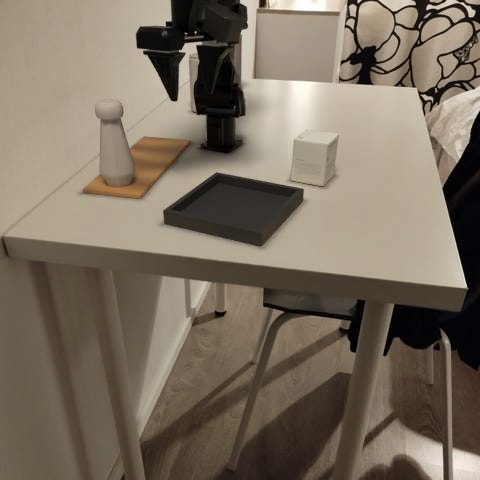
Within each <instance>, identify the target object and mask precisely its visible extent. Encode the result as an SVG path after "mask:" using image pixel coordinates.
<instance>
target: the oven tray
mask: <svg viewBox="0 0 480 480" xmlns="http://www.w3.org/2000/svg"><path fill="white" fill-rule="evenodd" d="M304 193H305V188H302V187H297V186H292V185H286V184H281V183H275V182H271V181H266V180H260V179H256V178H249V177H245V176H244V177H243V176H238V175H234V174H229V173H228V174H227V173H223V172H217V171H216V172H215V173H213V174H212V175H210V176H209V177H208V178H206V179H205V180H203V181H202V182H201V183H199V184H198V185H197V186H195V187H194V188H192V189H191V190H190V191H188V192H187V193H185V194H184V195H183V196H181V197H180V198H178V199H177V200H176V201H174V202H173V203H172V204H170V205H168V206H167V207H166V208H165V209H163V210H162V213H163V215H162V216H163V224H164V225H168V226H171V227H172V226H173V227H177V228H180V229H185V230H190V231H193V232H199V233H203V234H207V235H211V236H215V237H219V238H223V239H228V240H232V241H237V242H241V243H246V244H248V245H253V246H258V247H262V246H263V245H264V244H265V243H266V242H267V241H268V240H269V239H270V238H271V236H273V235H274V234H275V232H276V231H277V230H278V229H279V228H280V227H281V226H282V224H283V223H284V222H286V220H287V219H288V218H289V217H290V216H291V215H292V214H293V213H294V212H295V210H297V208H298V207H299V206H300V205H301V204H302V203H303V202H304V196H305V195H304Z"/></svg>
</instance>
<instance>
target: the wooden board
mask: <svg viewBox="0 0 480 480" xmlns="http://www.w3.org/2000/svg"><path fill="white" fill-rule="evenodd" d="M190 144H191V139H183V138H171V137H170V138H169V137H159V136H145V135H144V136H143V137H141V138H140V139H139V140H137V142H136V143H134V144H133V145H132V146H131V147H129V148H130V152H131V155H132V158H133V162H134V165H135V172H134V175H133V177H132V181H131V183H130V184H129V185H127V186H123V187H111V186H109V185H108V184H107V182H106V181H105V180H104V178H103V177H102V175H101V174H100V173H99V175H97V176H96V177H95V178H94V179H93V180H91V182H89V183H88V184H87V185H86V186H85V187H84V188H82V193H83V194H91V195H101V196H111V197H112V196H113V197H121V198H123V197H124V198H132V199H142V198H143V197H144V195H146V193H147V192H148V191H149V190H150V189H151V188H152V187H153V186H154V185H155V183H156V182H157V181H158V180H159V179H160V178H161V177H162V175H163V174H165V172H166V171H167V170H168V169H169V168H170V166H172V164H174V162H175V161H176V160H177V159H178V158H179V156H180V155H181V154H182V153H183V152H184V151H185V150H186V149H187V148H188V146H189V145H190Z"/></svg>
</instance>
